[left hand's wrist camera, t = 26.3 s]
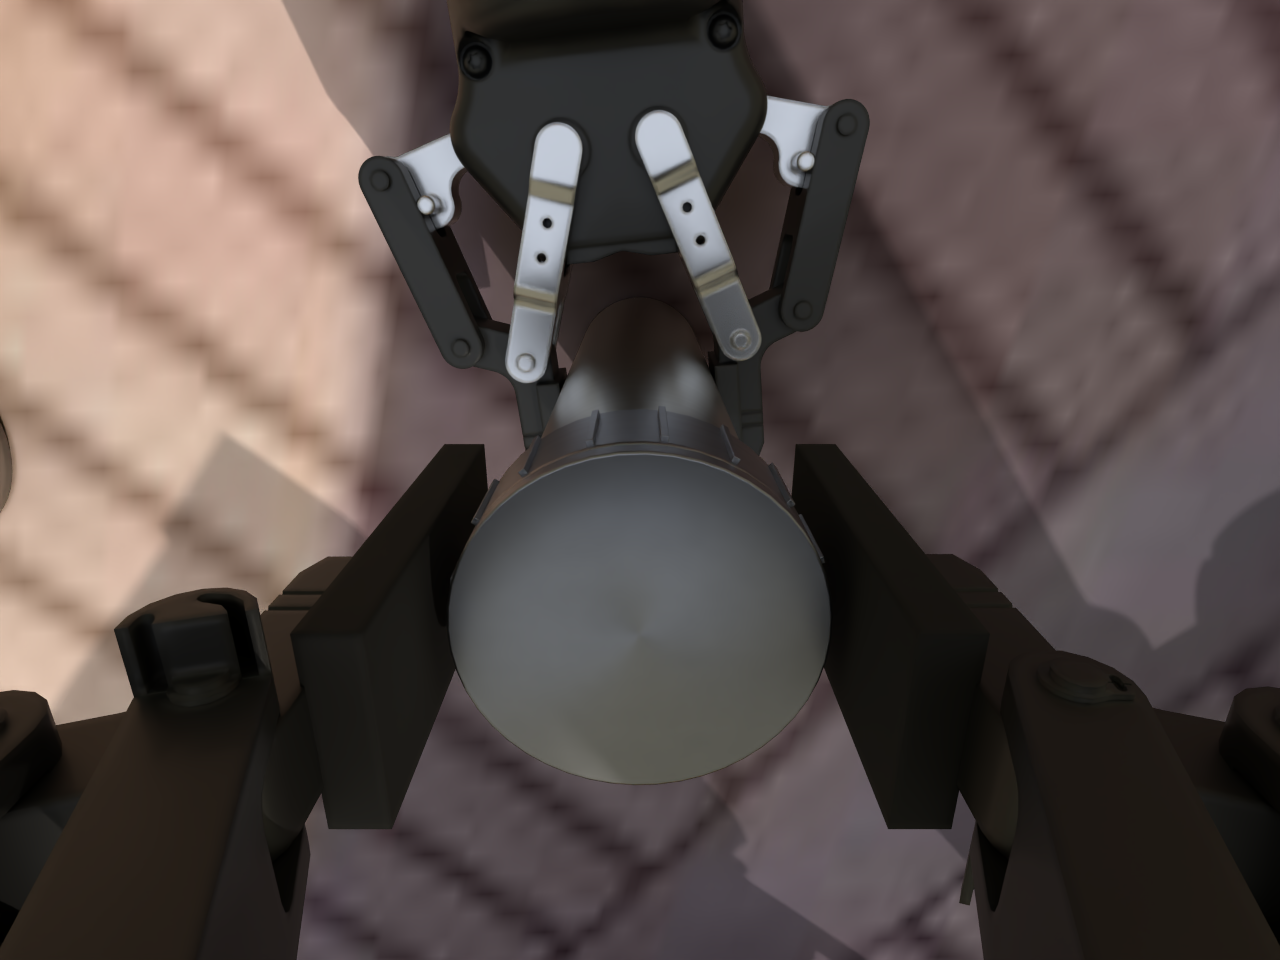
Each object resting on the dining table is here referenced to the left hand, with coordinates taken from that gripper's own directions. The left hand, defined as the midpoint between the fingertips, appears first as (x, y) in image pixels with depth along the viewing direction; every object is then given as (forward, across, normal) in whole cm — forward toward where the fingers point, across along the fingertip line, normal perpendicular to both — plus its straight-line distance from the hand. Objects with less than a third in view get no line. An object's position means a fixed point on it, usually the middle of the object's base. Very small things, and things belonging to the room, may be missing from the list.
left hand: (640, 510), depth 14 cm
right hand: (+9, 0, -3) cm, 9 cm away
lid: (-4, 0, 0) cm, 4 cm away
